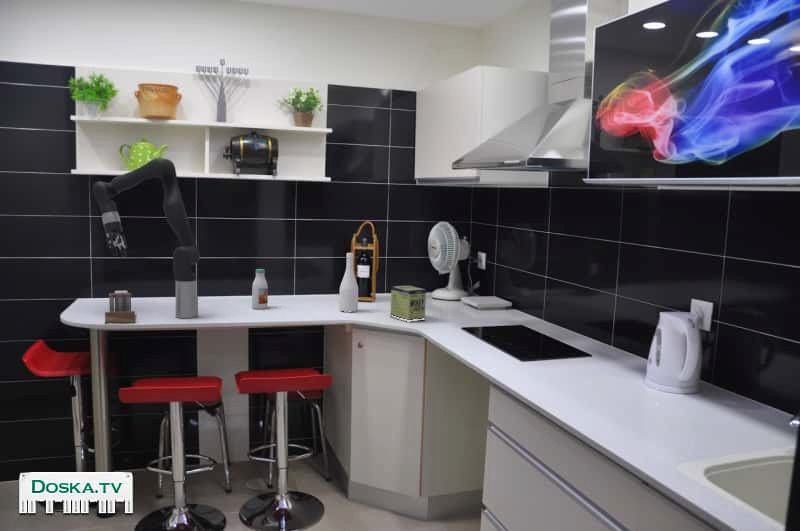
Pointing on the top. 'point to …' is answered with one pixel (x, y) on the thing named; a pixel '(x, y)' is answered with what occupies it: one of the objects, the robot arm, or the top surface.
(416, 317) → the protein box
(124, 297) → the plug block
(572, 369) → the top surface
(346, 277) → the wine bottle
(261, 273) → the milk bottle
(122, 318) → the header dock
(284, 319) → the top surface
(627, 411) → the top surface
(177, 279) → the robot arm
